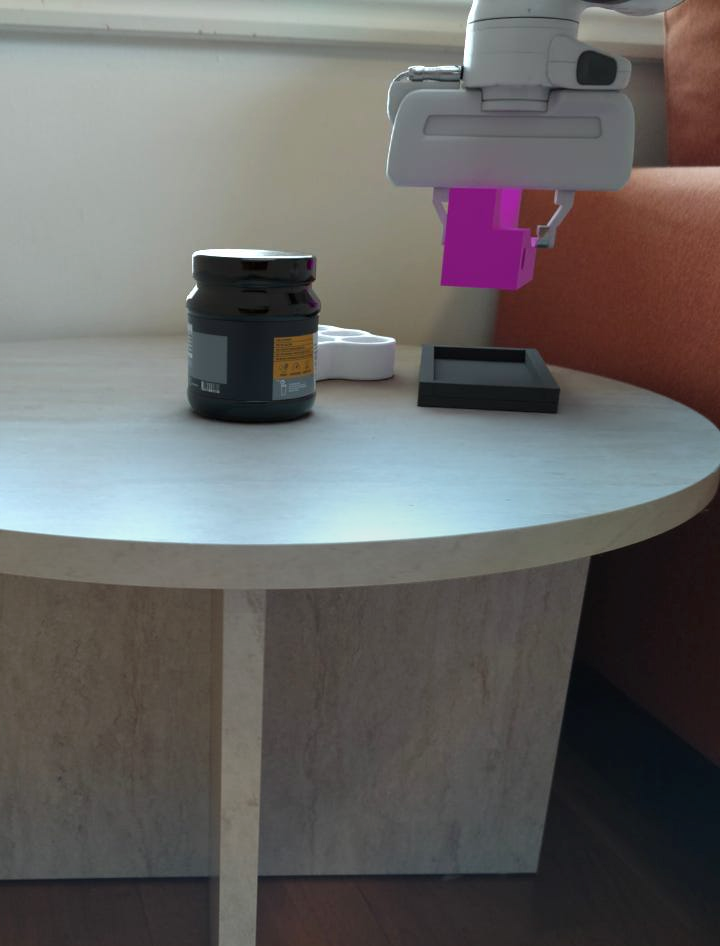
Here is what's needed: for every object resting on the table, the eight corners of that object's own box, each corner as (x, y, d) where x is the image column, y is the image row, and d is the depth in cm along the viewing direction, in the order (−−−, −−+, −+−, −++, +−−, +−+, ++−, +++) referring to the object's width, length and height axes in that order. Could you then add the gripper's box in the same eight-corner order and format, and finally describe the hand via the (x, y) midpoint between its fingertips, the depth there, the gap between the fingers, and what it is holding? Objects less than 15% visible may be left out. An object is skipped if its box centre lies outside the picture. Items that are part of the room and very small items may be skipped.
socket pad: (534, 369, 103) (537, 348, 102) (556, 413, 84) (560, 388, 83) (420, 363, 105) (422, 343, 104) (417, 405, 86) (419, 381, 85)
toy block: (516, 290, 83) (528, 189, 80) (440, 285, 85) (449, 187, 82) (538, 275, 96) (550, 188, 93) (472, 271, 98) (481, 186, 95)
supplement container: (342, 412, 83) (351, 255, 78) (251, 431, 76) (255, 260, 71) (251, 392, 90) (254, 246, 85) (159, 408, 83) (157, 251, 78)
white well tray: (190, 363, 103) (290, 349, 112) (322, 390, 91) (422, 372, 100) (190, 328, 101) (292, 317, 111) (324, 352, 90) (426, 337, 99)
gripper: (388, 62, 82) (376, 245, 88) (653, 63, 79) (621, 252, 85) (391, 69, 88) (379, 241, 94) (638, 70, 85) (610, 247, 91)
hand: (496, 246), depth 89 cm, fingers closed on toy block, 7 cm apart
